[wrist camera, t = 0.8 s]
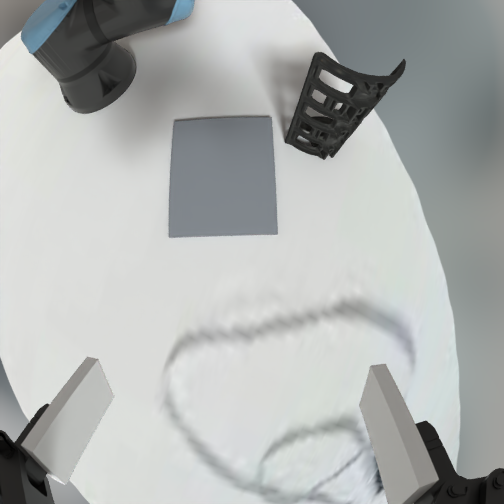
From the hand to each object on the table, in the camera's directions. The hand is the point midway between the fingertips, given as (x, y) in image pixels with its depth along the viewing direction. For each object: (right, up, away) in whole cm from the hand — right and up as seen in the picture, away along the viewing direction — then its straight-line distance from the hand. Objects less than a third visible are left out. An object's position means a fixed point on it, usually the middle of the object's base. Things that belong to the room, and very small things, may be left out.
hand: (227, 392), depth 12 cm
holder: (+12, +24, +29) cm, 39 cm away
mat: (-3, +18, +28) cm, 33 cm away
